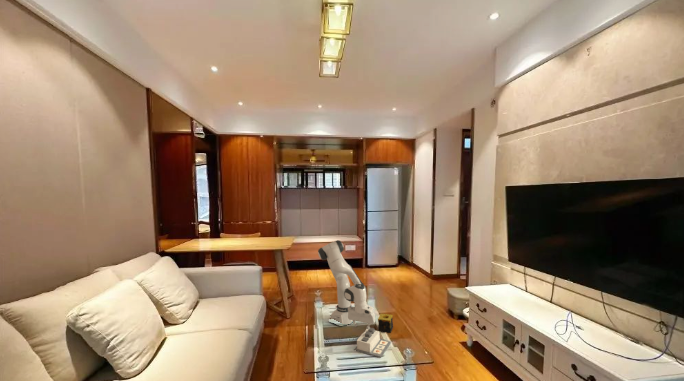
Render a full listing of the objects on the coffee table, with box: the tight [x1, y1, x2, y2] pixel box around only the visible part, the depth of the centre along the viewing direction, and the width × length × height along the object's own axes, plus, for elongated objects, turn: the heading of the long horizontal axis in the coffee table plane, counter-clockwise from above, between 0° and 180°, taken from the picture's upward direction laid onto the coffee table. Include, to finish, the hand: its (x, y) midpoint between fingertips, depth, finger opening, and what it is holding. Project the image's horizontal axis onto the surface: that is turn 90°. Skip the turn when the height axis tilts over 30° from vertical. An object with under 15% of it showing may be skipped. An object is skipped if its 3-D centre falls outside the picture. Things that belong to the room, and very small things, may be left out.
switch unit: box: [353, 328, 392, 359], centre depth 182 cm, size 20×19×7 cm
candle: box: [377, 313, 394, 334], centre depth 204 cm, size 10×10×10 cm
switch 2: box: [365, 331, 372, 338], centre depth 184 cm, size 4×4×6 cm
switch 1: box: [368, 327, 376, 334], centre depth 188 cm, size 4×4×6 cm
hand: (361, 327), depth 182 cm, fingers open, 8 cm apart
